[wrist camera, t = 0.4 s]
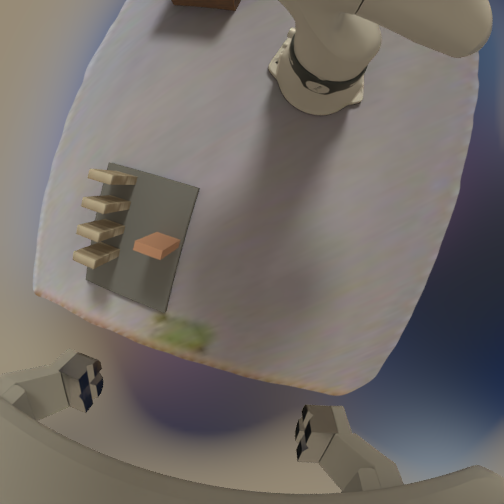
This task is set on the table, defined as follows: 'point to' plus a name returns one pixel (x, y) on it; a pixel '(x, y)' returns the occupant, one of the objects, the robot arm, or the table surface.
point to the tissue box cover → (210, 3)
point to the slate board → (138, 226)
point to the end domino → (156, 245)
